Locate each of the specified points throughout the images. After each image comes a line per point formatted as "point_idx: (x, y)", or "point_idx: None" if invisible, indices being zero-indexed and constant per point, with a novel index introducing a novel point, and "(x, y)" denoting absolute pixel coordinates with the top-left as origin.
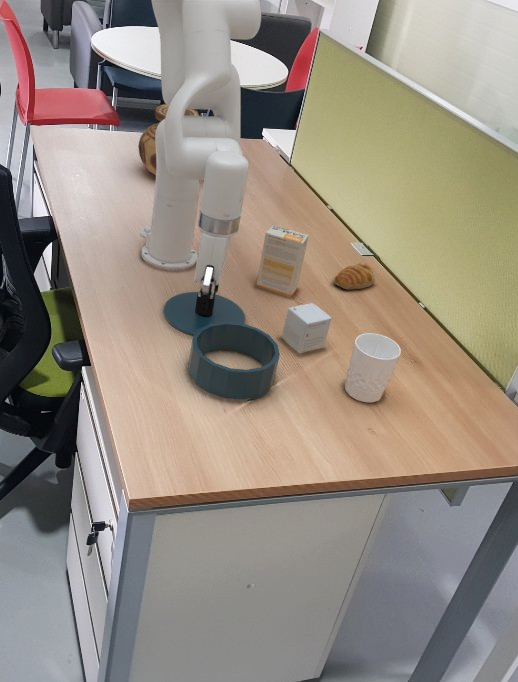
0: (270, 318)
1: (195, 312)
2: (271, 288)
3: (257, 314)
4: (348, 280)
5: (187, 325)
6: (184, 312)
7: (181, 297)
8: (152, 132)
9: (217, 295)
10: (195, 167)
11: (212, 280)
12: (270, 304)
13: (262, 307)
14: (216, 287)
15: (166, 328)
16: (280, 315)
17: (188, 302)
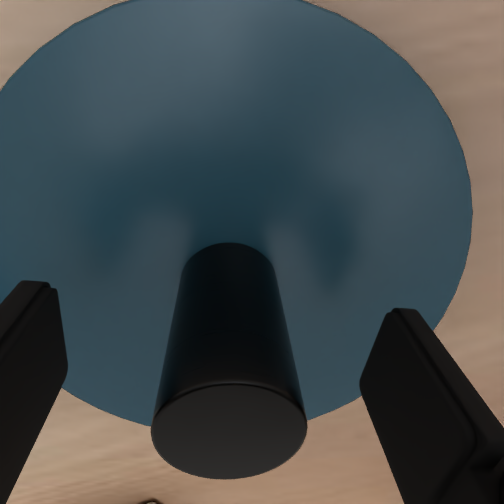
0: (286, 473)
1: (22, 283)
2: None
3: (307, 443)
4: None
5: (36, 193)
6: (197, 166)
7: (400, 135)
8: None
9: None
10: None
11: (409, 437)
12: (383, 471)
13: (360, 454)
14: (373, 413)
15: (15, 32)
16: (311, 493)
17: (336, 187)
